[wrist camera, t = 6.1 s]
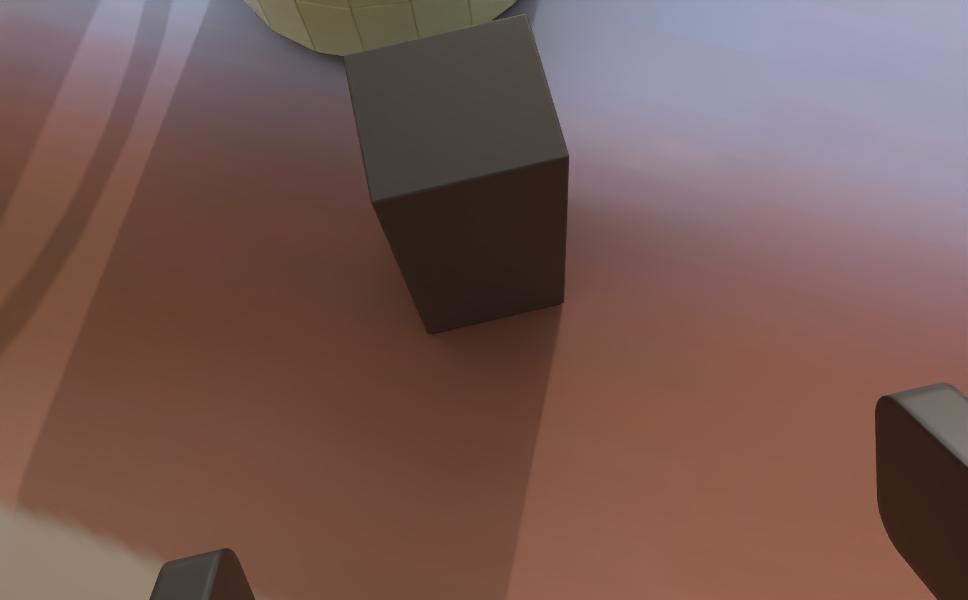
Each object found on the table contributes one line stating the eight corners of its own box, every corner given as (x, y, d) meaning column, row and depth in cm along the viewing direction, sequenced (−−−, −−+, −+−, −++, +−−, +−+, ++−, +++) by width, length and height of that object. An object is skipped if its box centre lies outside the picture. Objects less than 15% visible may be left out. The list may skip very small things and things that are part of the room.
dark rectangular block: (564, 303, 27) (570, 157, 18) (428, 335, 27) (371, 203, 18) (534, 193, 28) (526, 11, 20) (404, 223, 28) (342, 54, 20)
